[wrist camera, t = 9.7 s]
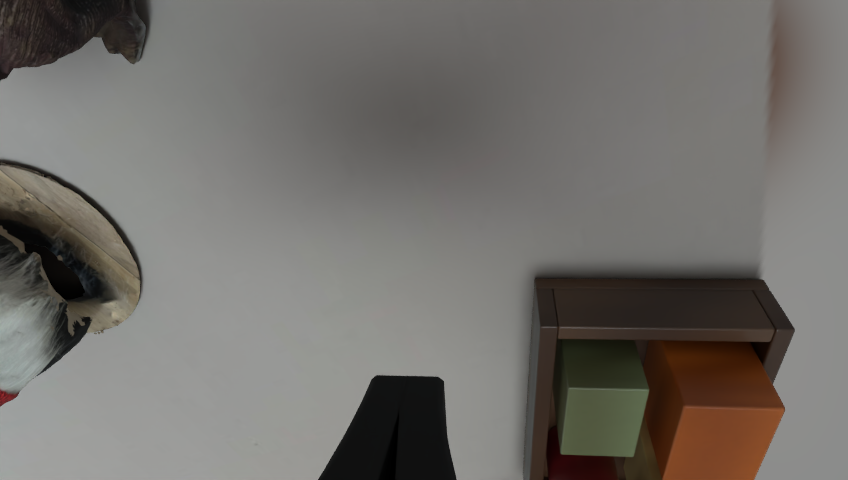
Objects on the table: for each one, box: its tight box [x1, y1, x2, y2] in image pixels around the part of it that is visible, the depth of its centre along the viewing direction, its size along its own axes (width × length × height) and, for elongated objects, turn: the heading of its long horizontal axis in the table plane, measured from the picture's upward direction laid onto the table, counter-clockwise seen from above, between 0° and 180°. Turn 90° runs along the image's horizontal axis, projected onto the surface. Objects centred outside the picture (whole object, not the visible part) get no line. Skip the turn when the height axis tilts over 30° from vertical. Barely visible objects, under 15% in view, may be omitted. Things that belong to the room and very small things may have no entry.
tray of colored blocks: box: [523, 279, 795, 480], centre depth 22 cm, size 8×12×5 cm, turn 3°
